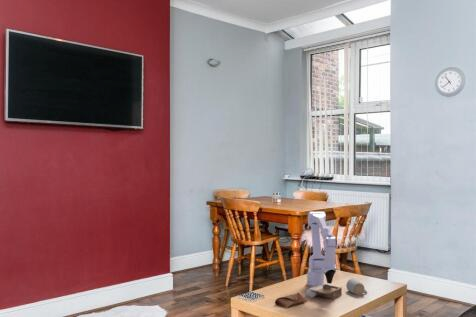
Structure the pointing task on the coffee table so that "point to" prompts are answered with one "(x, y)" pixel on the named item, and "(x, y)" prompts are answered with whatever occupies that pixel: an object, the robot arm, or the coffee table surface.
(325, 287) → the lid
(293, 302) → the sunglasses case
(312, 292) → the white rounded piece
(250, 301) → the coffee table surface
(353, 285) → the ceramic mug
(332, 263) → the robot arm
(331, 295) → the keepsake box
